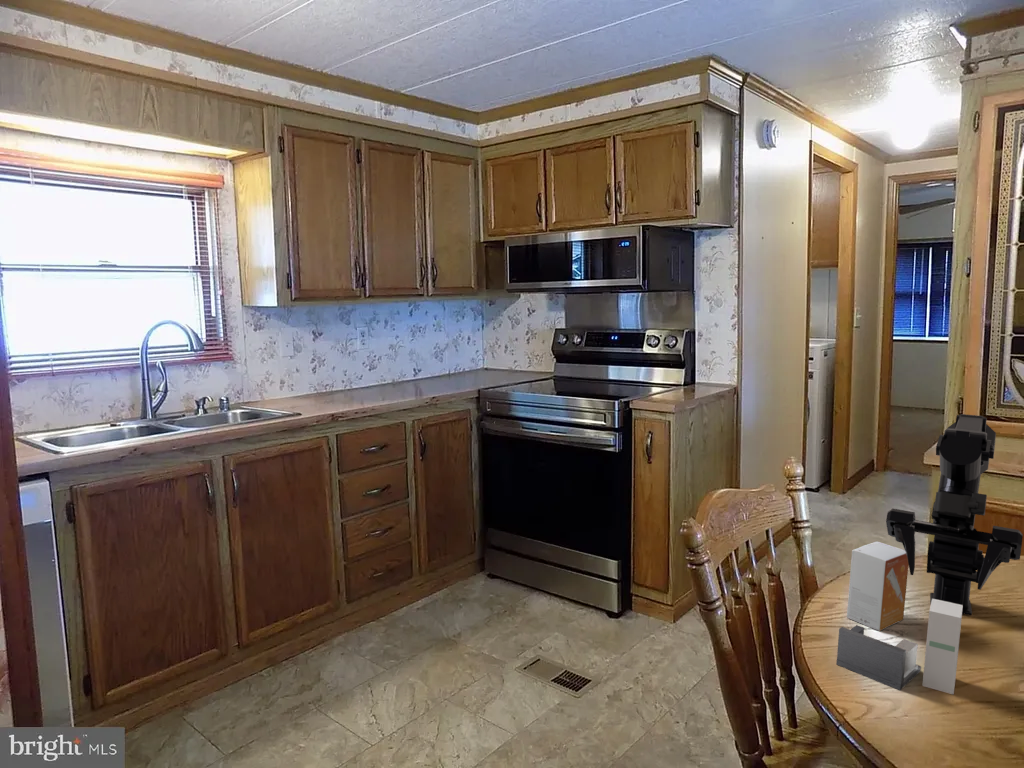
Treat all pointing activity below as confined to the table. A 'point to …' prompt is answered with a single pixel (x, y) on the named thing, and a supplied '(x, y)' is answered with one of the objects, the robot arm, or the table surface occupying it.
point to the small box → (877, 585)
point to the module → (942, 645)
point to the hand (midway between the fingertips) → (944, 581)
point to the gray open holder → (877, 657)
